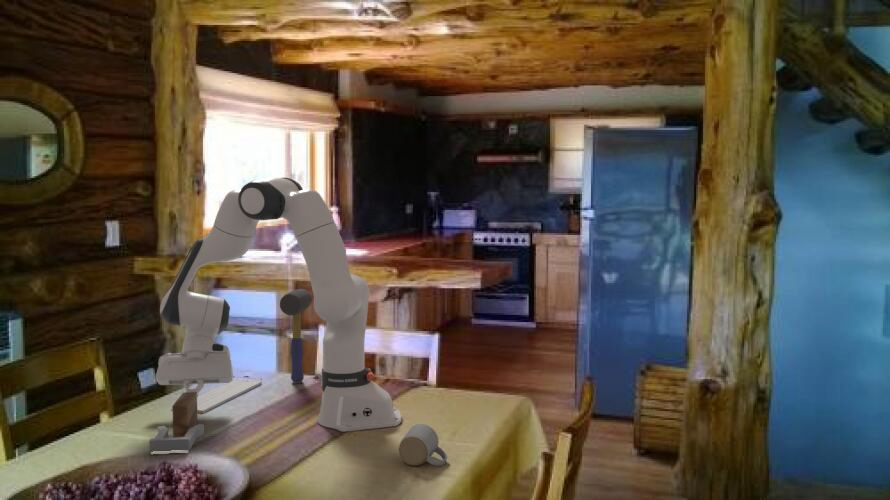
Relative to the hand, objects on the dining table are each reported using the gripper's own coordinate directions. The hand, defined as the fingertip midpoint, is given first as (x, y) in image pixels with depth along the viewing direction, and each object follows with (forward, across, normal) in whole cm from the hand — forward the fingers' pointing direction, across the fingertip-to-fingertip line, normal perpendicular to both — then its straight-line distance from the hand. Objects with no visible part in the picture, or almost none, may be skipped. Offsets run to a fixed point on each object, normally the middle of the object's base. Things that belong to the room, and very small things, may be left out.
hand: (191, 396), depth 197 cm
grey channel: (+19, 0, -11) cm, 22 cm away
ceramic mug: (+32, +59, -23) cm, 71 cm away
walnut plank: (+10, 0, -2) cm, 11 cm away
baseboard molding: (-9, +3, +19) cm, 21 cm away
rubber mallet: (-19, +26, +27) cm, 42 cm away
